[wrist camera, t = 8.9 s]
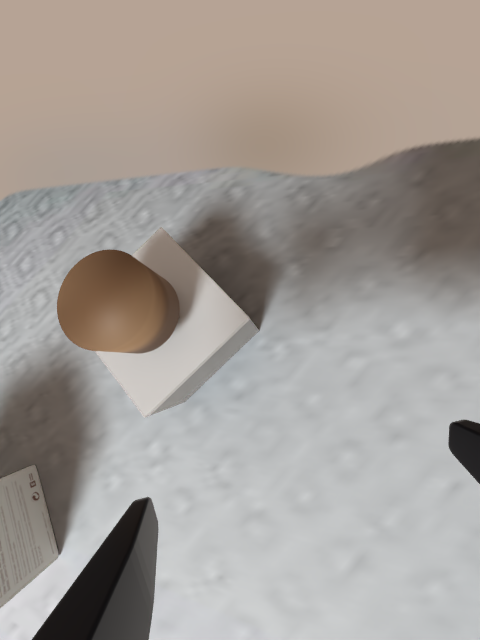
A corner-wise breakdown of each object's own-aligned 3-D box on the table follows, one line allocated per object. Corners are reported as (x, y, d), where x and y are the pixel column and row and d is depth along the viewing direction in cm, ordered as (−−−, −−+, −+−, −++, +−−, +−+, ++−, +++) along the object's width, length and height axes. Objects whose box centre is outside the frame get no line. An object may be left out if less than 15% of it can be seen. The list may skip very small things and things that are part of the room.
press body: (259, 330, 20) (248, 317, 14) (184, 402, 20) (144, 417, 14) (194, 263, 22) (161, 226, 16) (126, 328, 22) (68, 316, 16)
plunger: (223, 327, 19) (171, 298, 11) (180, 369, 19) (93, 373, 11) (185, 287, 20) (110, 230, 12) (145, 326, 20) (39, 299, 12)
